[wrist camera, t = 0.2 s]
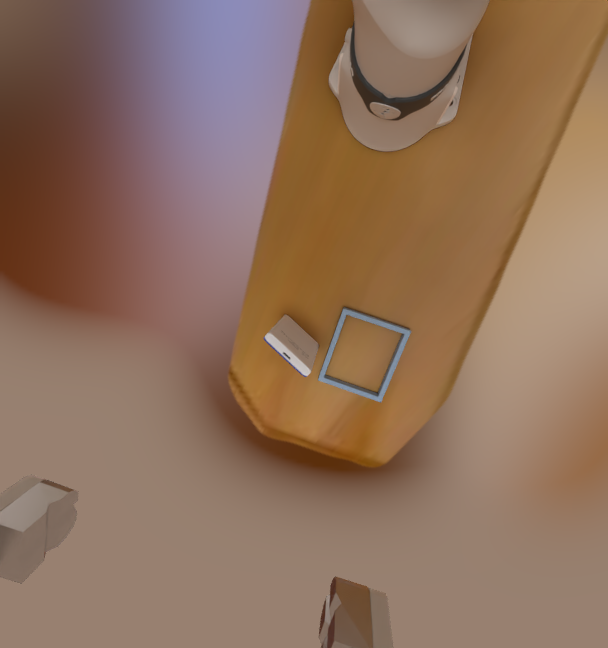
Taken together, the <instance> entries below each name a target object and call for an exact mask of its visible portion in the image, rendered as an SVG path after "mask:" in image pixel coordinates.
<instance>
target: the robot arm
mask: <svg viewBox="0 0 608 648" xmlns="http://www.w3.org/2000/svg"><path fill="white" fill-rule="evenodd" d="M489 1H490V0H352V2H353V8H354V23H353V26H352V28H349V29H348V30H347V33H346V36H345V43H344V45H343V47H342V49H341V52H340V54H339V56H338V58H337V60H336V62H335V64H334V66H333V68H332V70H331V72H330V75H329V86H330V88H331V90H332V92H333V93H334V95H335V96H336V97H337V99H338V100H339V102H340V105H341V109H342V114H343V118H344V121H345V123H346V125H347V127H348V129H349V131H350V132H351V134H352V135H353V136H354V137H355V138H356V139H357V140H358V141H359V142H360V143H362V144H363V145H365V146H367V147H369V148H371V149H374V150H378V151H396V150H400V149H403V148H406V147H408V146H410V145H412V144H414V143H415V142H417V141H418V140H420V139H421V138H422V137H423V136H424V135H426V134H427V133H428V132H429V131H431V130H432V129H435V128H438V127H441V126H444V125H446V124H448V123H450V122H451V121H452V120H453V119H454V118H455V116H456V114H457V110H458V105H459V100H460V95H461V90H462V85H463V80H464V76H465V71H466V66H467V61H468V56H469V51H470V46H471V41H472V36H473V33H474V31H475V29H476V28H477V26H478V24H479V22H480V21H481V19H482V17H483V15H484V13H485V11H486V9H487V6H488V4H489ZM451 103H452V105H451V106H449V105H450V104H451ZM77 501H78V491H76V490H73V489H70V488H68V487H65V486H62V485H60V484H57V483H54V482H52V481H49V480H46V479H43V478H40V477H38V476H35V475H29V476H26V477H24V478H22V479H21V480H19V481H18V482H17V483H15V484H14V485H12V486H11V487H9V488H8V489H7V490H5V491H4V492H3V493H1V494H0V577H2V578H5V579H8V580H11V581H14V582H18V583H22V582H24V581H25V579H27V577H28V576H29V575H30V574H31V573H32V572H33V571H34V570H35V569H36V568H37V567H38V566H39V565H40V564H41V563H42V562H43V561H44V558H45V554H46V552H47V551H49V550H51V549H53V548H55V547H57V546H58V545H60V543H61V542H62V541H63V540H64V539H65V538H66V537H67V535H68V534H69V532H70V531H71V529H72V528H73V526H74V523H75V521H76V516H77V511H76V509H75V508H74V505H73V504H74V503H75V502H77ZM319 639H320V642H321V644H322V646H321V648H393V641H392V632H391V625H390V616H389V606H388V598H387V596H386V594H385V593H383V592H380V591H377V590H374V589H371V588H368V587H367V586H364V585H361V584H357V583H354V582H351V581H348V580H345V579H342V578H338V577H334V578H333V580H332V583H331V586H330V595H328V596H327V597H326V600H325V602H324V605H323V610H322V615H321V621H320V629H319Z"/></svg>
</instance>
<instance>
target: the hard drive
mask: <svg viewBox="0 0 608 648" xmlns="http://www.w3.org/2000/svg"><path fill="white" fill-rule="evenodd" d="M264 340H265V341H266V342H267V343H268V344H269V345H270V346H271V347H272V348H273V349H274V350H275V351H276V352H277V353H279V354H280V355H281V356H282V357H283V358H284V359H285V360H286V361H287V362H288V363H289V364H290V365H291V366H293V367H294V368H295V369H296V370H297V371H298V372H299V373H300V374H301V375H303V376H304V377H307V376H308V375H309V374H310V373H311V371H312V367H313V364H314V361H315V357H316V354H317V351H318V347H319V344H318V343H317V342H316V341H315V340H314V339H313V338H312V337H311V336H310V335H309V334H307V333H306V332H305V331H304V330H303V329H302V328H301V327H300V326H299V325H298V324H297V323H296V322H295V321H294V320H292V319H291V318H290V317H289V316H288V315H286V314H285V315H284V316H283V317H282V318H281V319H280V320H279V321H278V323H277V324H276V325H275V326H274V327H273V328H272V329H271V330H270V331H269V332H268V333H267V334H266V335H265V337H264Z"/></svg>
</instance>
